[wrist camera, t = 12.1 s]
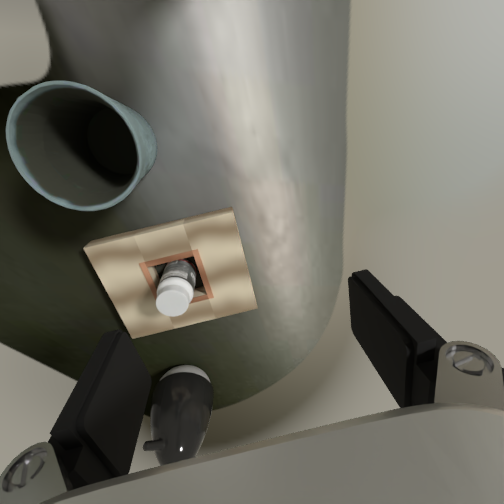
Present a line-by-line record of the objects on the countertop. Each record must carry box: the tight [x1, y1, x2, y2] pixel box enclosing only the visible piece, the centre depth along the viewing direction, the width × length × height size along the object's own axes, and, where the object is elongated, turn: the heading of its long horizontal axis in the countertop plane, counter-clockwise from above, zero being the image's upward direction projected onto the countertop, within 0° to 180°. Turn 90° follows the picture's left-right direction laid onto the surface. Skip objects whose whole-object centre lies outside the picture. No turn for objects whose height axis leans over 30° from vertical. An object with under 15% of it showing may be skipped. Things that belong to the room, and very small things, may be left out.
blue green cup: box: [6, 81, 157, 211], centre depth 28 cm, size 10×10×12 cm
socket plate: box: [83, 207, 257, 339], centre depth 40 cm, size 16×20×3 cm
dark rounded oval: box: [143, 365, 214, 466], centre depth 44 cm, size 10×10×15 cm
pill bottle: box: [156, 259, 197, 317], centre depth 38 cm, size 5×5×8 cm
